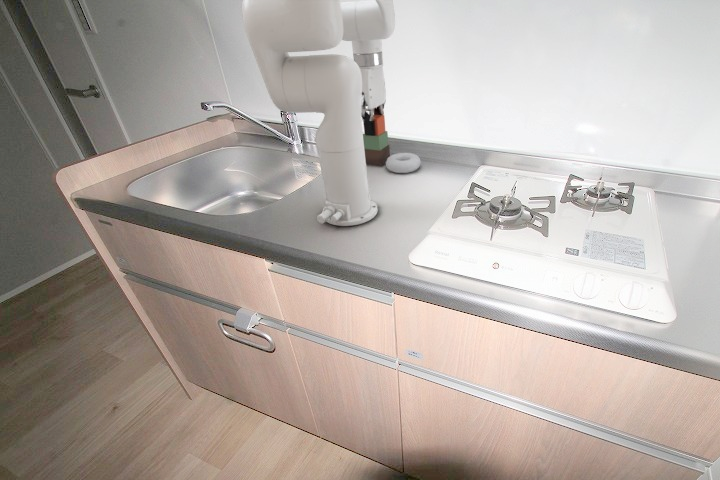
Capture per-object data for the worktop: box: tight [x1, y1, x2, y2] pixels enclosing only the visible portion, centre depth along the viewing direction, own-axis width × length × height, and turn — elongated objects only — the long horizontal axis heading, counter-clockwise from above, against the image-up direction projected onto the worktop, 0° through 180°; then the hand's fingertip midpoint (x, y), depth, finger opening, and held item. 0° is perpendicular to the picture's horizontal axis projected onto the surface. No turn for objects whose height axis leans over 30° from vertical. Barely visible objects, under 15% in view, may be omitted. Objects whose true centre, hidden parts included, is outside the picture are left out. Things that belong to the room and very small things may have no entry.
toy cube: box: [362, 114, 386, 136], centre depth 104 cm, size 4×4×4 cm
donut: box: [385, 152, 422, 174], centre depth 104 cm, size 10×4×10 cm
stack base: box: [364, 144, 391, 167], centre depth 109 cm, size 6×6×4 cm
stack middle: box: [363, 130, 389, 151], centre depth 106 cm, size 6×6×4 cm
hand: (374, 131), depth 105 cm, fingers closed on toy cube, 4 cm apart
